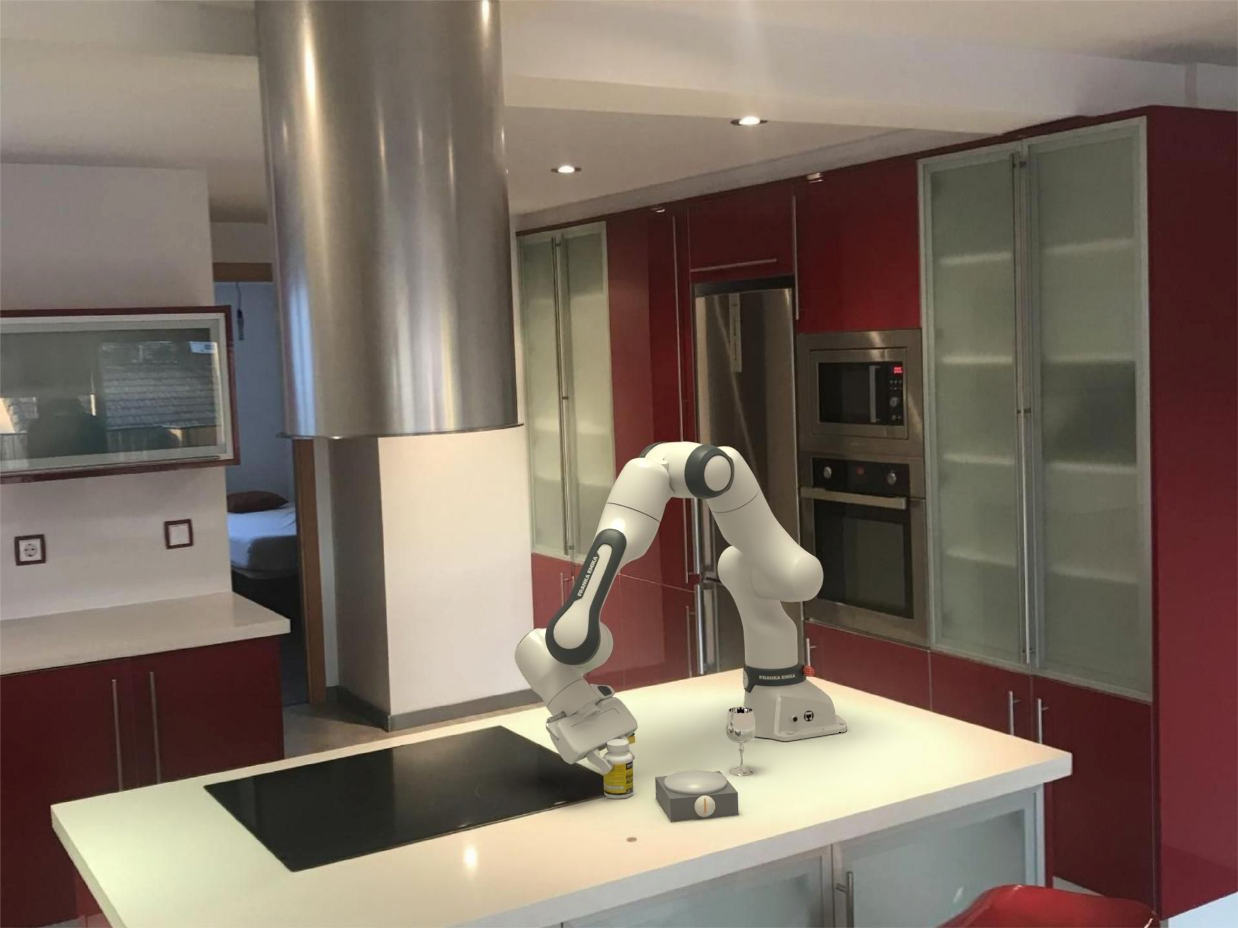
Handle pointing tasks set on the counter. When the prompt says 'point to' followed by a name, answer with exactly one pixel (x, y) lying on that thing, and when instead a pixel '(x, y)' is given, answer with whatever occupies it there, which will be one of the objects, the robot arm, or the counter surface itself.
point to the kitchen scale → (696, 795)
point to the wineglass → (741, 732)
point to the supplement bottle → (619, 770)
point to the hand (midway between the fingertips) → (621, 765)
